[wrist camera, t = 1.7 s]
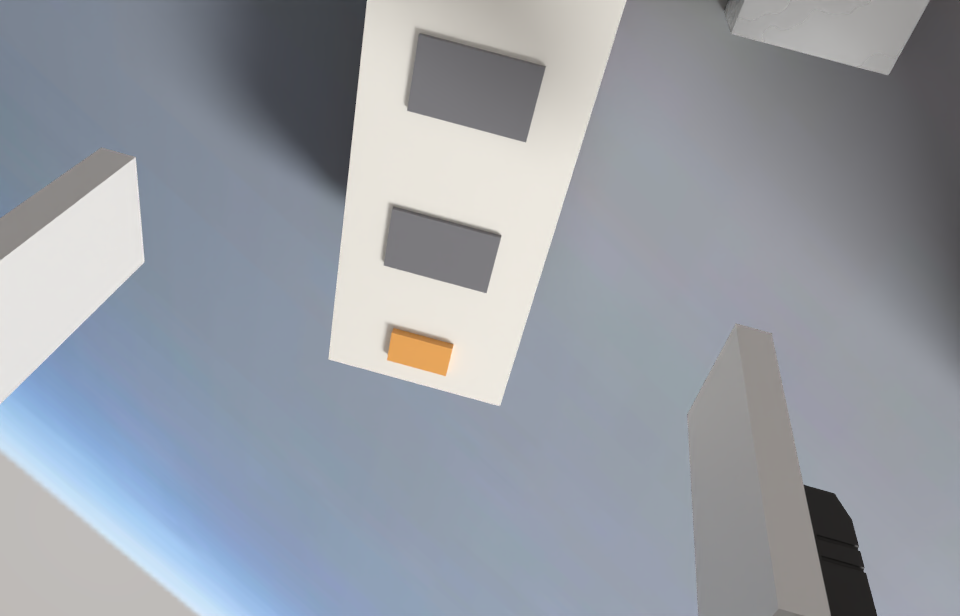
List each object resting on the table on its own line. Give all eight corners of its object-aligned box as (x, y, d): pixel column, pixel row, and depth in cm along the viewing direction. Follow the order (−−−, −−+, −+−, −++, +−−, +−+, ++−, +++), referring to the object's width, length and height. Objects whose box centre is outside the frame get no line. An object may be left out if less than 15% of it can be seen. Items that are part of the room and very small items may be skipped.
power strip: (526, 284, 31) (498, 411, 25) (387, 246, 31) (325, 364, 25) (658, -157, 22) (666, -123, 16) (456, -210, 22) (384, -197, 16)
